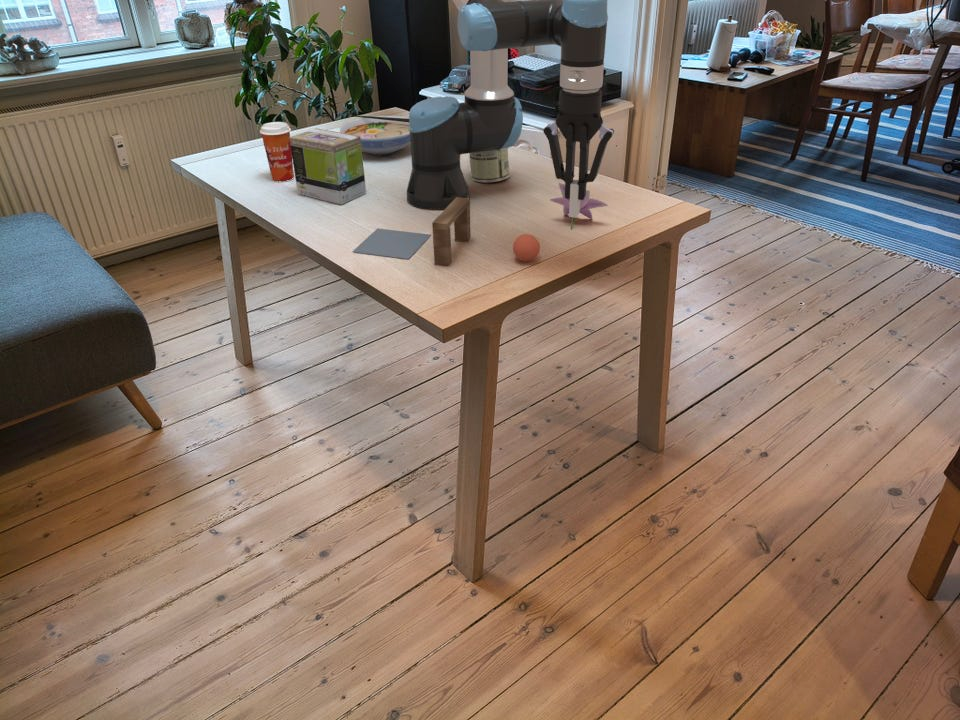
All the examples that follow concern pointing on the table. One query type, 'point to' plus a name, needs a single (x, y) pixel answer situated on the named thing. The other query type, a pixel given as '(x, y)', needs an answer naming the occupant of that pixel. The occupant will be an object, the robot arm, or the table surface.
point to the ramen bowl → (379, 133)
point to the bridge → (441, 229)
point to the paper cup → (278, 150)
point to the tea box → (328, 165)
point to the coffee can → (489, 165)
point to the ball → (526, 247)
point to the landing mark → (392, 243)
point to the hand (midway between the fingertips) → (574, 214)
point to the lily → (584, 204)
